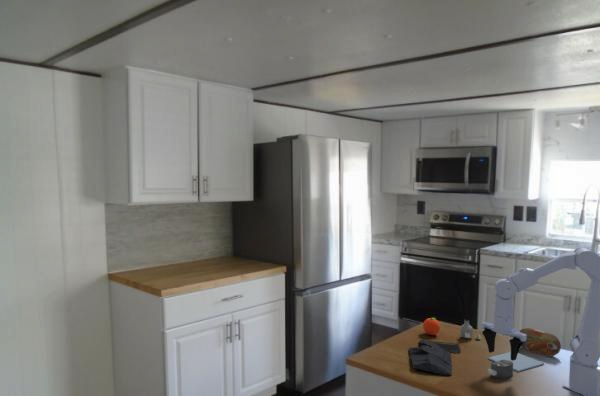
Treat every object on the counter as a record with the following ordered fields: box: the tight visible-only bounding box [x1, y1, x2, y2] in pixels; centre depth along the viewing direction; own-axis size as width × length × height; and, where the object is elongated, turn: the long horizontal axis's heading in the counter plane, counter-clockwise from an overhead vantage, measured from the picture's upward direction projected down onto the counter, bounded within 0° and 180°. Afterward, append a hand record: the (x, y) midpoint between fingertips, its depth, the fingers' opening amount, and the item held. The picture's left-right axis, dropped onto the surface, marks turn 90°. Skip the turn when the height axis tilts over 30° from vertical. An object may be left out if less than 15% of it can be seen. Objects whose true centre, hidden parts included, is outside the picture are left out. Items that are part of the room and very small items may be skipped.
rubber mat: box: [487, 351, 545, 373], centre depth 154 cm, size 12×14×1 cm
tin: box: [519, 327, 562, 358], centre depth 163 cm, size 15×3×8 cm, turn 37°
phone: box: [418, 339, 461, 354], centre depth 167 cm, size 8×1×15 cm
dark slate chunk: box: [408, 339, 453, 377], centre depth 153 cm, size 15×22×5 cm
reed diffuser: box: [456, 289, 482, 340], centre depth 178 cm, size 10×7×20 cm
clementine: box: [422, 317, 441, 336], centre depth 181 cm, size 8×7×7 cm
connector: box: [487, 360, 514, 380], centre depth 143 cm, size 4×10×4 cm, turn 118°
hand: (502, 355), depth 143 cm, fingers open, 7 cm apart
